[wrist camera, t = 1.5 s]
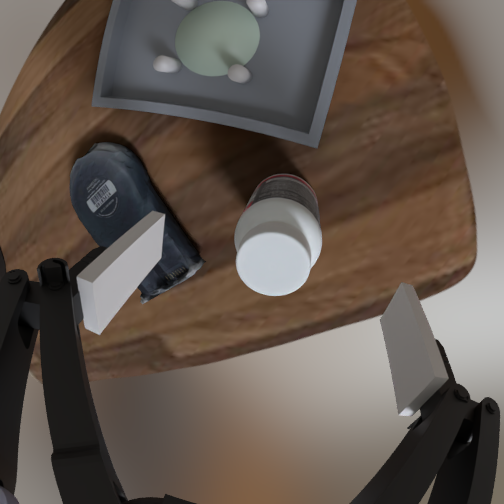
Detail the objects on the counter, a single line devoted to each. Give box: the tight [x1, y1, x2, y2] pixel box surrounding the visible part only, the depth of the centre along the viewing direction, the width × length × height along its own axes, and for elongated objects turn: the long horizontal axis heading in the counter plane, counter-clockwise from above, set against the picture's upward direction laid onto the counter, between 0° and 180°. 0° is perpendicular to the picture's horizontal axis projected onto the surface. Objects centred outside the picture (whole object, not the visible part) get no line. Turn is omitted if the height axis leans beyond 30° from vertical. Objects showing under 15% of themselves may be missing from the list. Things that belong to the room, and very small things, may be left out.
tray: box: [92, 0, 357, 148], centre depth 17 cm, size 18×13×4 cm
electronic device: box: [70, 142, 206, 304], centre depth 26 cm, size 9×6×15 cm
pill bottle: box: [234, 173, 322, 296], centre depth 20 cm, size 5×5×10 cm
